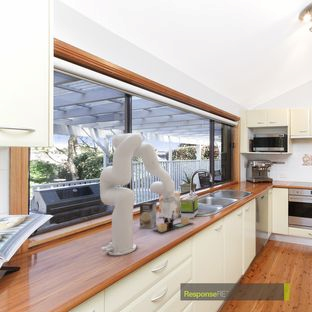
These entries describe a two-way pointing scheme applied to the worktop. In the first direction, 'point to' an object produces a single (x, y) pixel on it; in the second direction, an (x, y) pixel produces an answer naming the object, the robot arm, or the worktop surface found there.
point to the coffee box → (147, 215)
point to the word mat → (163, 227)
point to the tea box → (189, 206)
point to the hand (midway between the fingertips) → (168, 227)
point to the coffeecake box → (177, 204)
